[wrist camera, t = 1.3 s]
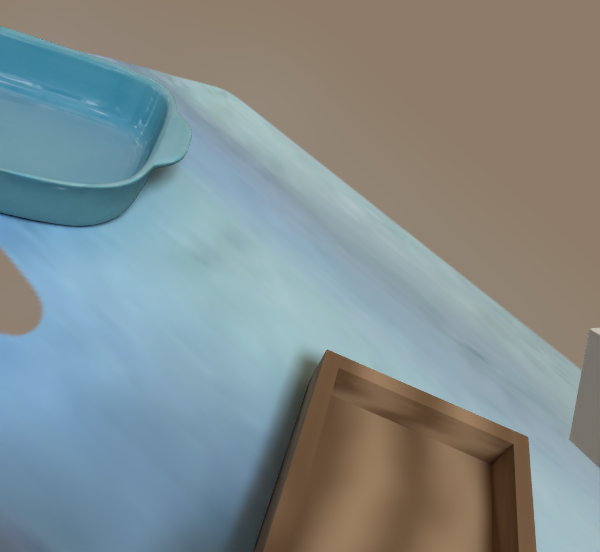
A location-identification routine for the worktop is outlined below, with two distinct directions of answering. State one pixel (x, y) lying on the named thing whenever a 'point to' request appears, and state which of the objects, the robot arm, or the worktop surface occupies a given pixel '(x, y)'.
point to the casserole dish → (78, 132)
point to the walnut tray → (396, 473)
